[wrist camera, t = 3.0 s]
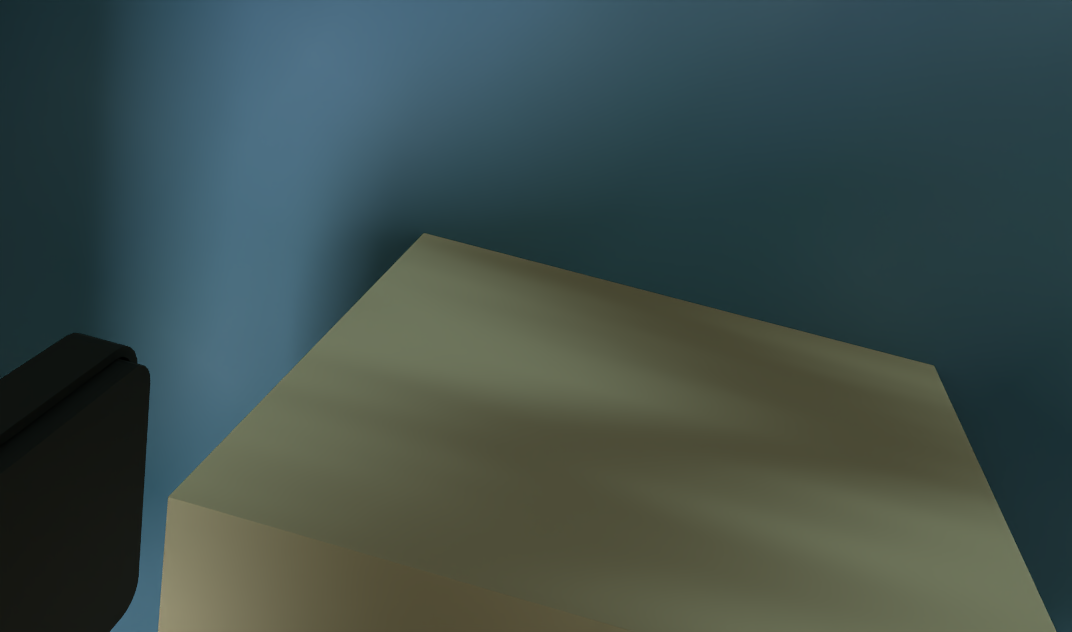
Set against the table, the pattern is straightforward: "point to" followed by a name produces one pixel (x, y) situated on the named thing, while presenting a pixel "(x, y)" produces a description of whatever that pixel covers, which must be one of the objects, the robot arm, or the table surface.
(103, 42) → the table surface
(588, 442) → the beech cube
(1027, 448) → the table surface
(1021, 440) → the table surface
